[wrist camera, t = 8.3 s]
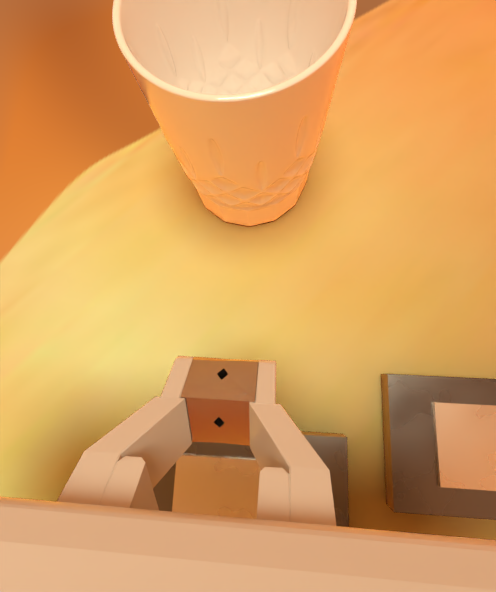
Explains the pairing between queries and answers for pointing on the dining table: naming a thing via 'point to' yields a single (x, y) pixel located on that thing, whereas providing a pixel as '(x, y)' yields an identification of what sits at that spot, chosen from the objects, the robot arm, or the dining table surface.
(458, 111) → the dining table surface
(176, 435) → the robot arm
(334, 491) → the tile left
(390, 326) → the dining table surface
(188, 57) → the white cup
